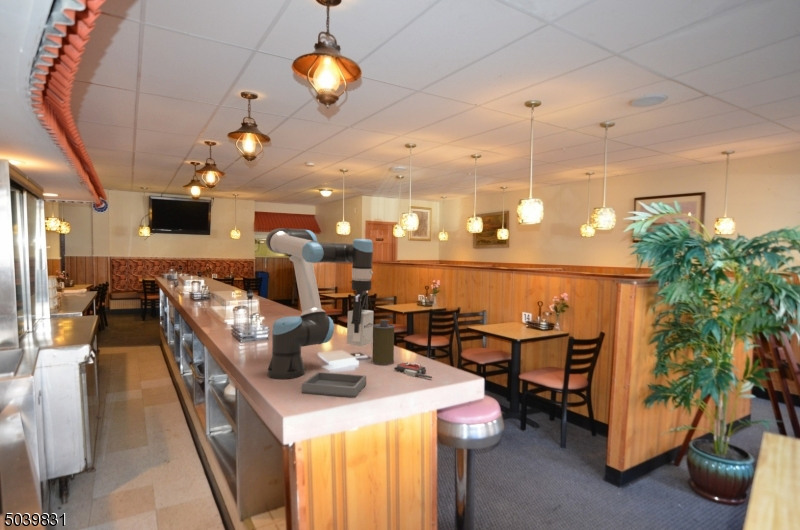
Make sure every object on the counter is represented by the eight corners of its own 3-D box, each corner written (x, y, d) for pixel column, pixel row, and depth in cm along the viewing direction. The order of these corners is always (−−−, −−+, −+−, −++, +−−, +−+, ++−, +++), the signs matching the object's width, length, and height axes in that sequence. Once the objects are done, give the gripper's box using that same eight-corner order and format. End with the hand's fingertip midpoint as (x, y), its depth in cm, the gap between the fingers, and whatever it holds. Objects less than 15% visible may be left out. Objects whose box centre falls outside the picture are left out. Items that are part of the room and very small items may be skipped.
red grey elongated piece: (390, 372, 178) (430, 381, 166) (391, 362, 177) (431, 370, 166) (402, 368, 185) (441, 376, 174) (402, 358, 185) (441, 366, 173)
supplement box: (362, 347, 151) (363, 313, 150) (346, 344, 155) (347, 311, 154) (373, 343, 158) (374, 310, 157) (357, 340, 161) (358, 308, 160)
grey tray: (302, 393, 148) (302, 383, 148) (317, 380, 163) (317, 371, 163) (355, 397, 145) (355, 388, 145) (366, 384, 159) (366, 375, 159)
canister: (393, 359, 198) (394, 318, 197) (394, 365, 188) (395, 322, 187) (371, 359, 198) (372, 318, 197) (370, 365, 187) (371, 321, 187)
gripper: (365, 282, 144) (362, 345, 145) (377, 278, 165) (375, 333, 166) (344, 281, 145) (342, 344, 146) (358, 277, 166) (357, 331, 167)
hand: (359, 338), depth 156 cm, fingers closed on supplement box, 9 cm apart
